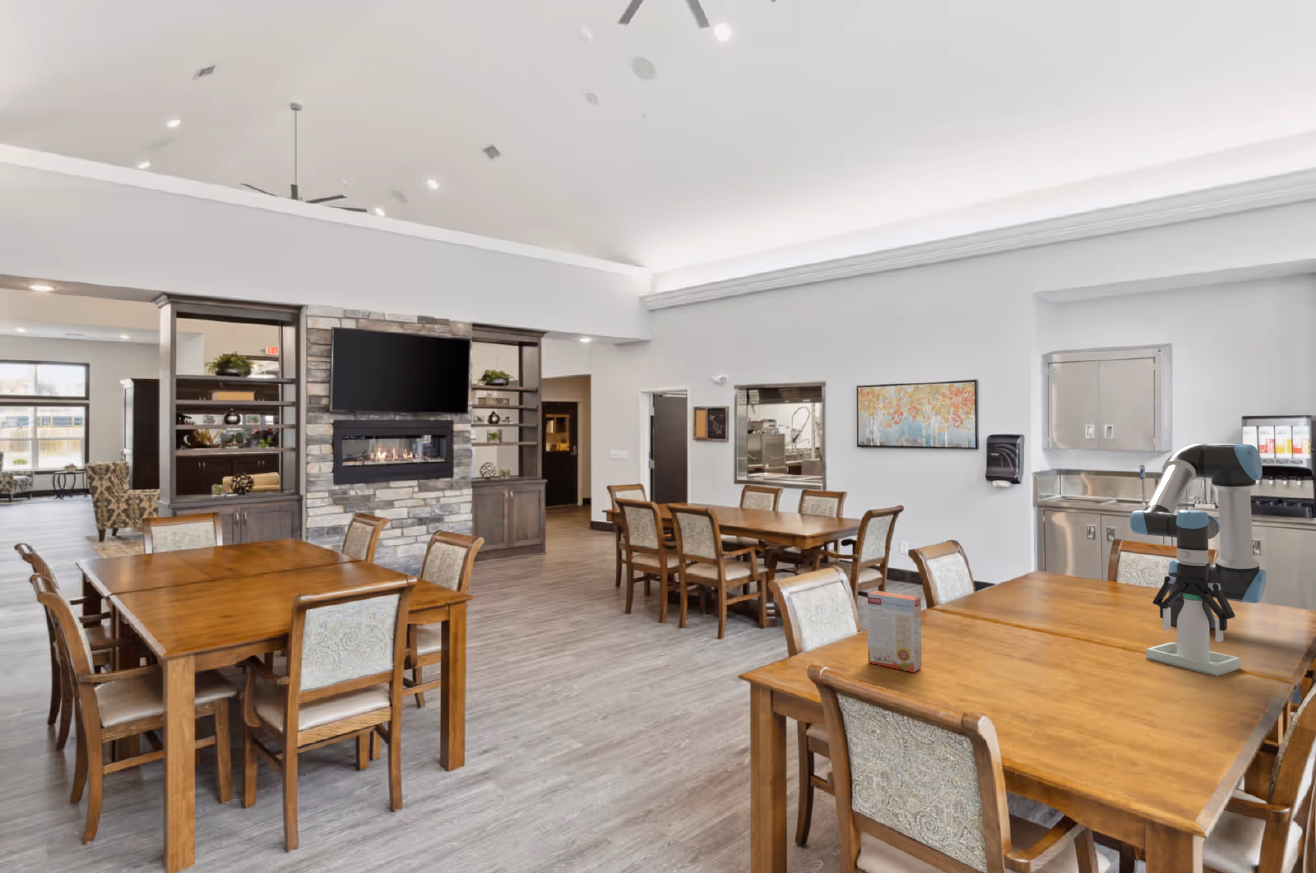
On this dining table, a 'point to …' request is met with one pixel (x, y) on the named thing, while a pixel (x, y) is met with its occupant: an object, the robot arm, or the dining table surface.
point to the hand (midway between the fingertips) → (1192, 635)
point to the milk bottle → (1193, 630)
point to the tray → (1215, 666)
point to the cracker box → (894, 630)
